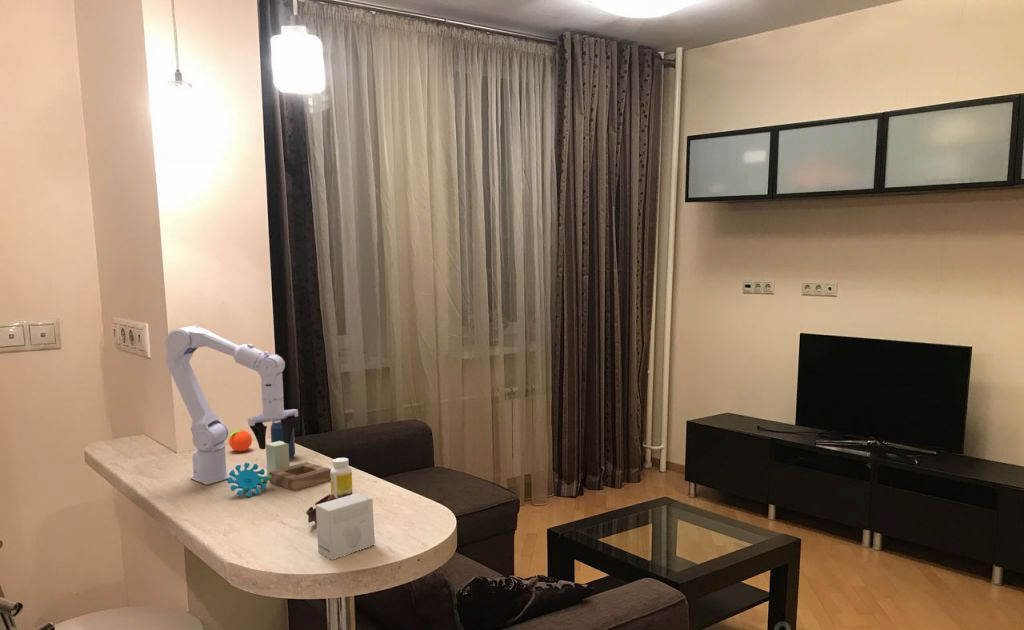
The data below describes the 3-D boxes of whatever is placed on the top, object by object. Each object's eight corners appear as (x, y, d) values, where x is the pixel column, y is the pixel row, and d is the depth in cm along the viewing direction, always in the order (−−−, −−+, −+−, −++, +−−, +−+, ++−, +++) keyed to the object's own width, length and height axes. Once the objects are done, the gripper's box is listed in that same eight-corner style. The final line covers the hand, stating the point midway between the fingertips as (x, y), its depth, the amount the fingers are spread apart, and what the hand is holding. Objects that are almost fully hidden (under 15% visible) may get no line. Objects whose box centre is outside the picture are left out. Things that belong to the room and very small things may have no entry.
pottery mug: (340, 538, 156) (319, 508, 156) (314, 548, 161) (294, 519, 160) (370, 507, 167) (351, 479, 166) (345, 518, 171) (326, 490, 171)
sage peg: (267, 474, 203) (265, 444, 202) (281, 470, 206) (279, 440, 205) (276, 477, 200) (274, 446, 199) (289, 473, 203) (288, 443, 202)
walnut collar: (269, 482, 195) (269, 471, 195) (306, 471, 204) (306, 461, 204) (294, 490, 188) (293, 480, 187) (331, 479, 197) (331, 469, 197)
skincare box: (360, 537, 155) (358, 491, 154) (375, 546, 151) (374, 498, 150) (316, 551, 148) (314, 503, 147) (331, 560, 143) (329, 511, 143)
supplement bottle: (356, 494, 184) (355, 458, 183) (343, 501, 179) (342, 463, 178) (340, 492, 186) (338, 455, 185) (326, 498, 181) (325, 461, 180)
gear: (229, 495, 180) (227, 461, 186) (225, 506, 183) (223, 473, 189) (273, 493, 185) (270, 460, 191) (268, 504, 189) (266, 472, 195)
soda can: (299, 457, 220) (298, 419, 219) (282, 462, 214) (280, 424, 213) (285, 454, 224) (283, 417, 223) (267, 459, 218) (265, 421, 217)
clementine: (235, 456, 223) (234, 434, 222) (222, 453, 226) (221, 431, 226) (256, 450, 229) (255, 428, 229) (243, 447, 233) (242, 426, 232)
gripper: (256, 404, 188) (258, 453, 190) (303, 395, 200) (305, 442, 201) (242, 401, 193) (245, 449, 194) (289, 393, 204) (291, 438, 205)
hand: (274, 445), depth 198 cm, fingers open, 7 cm apart
